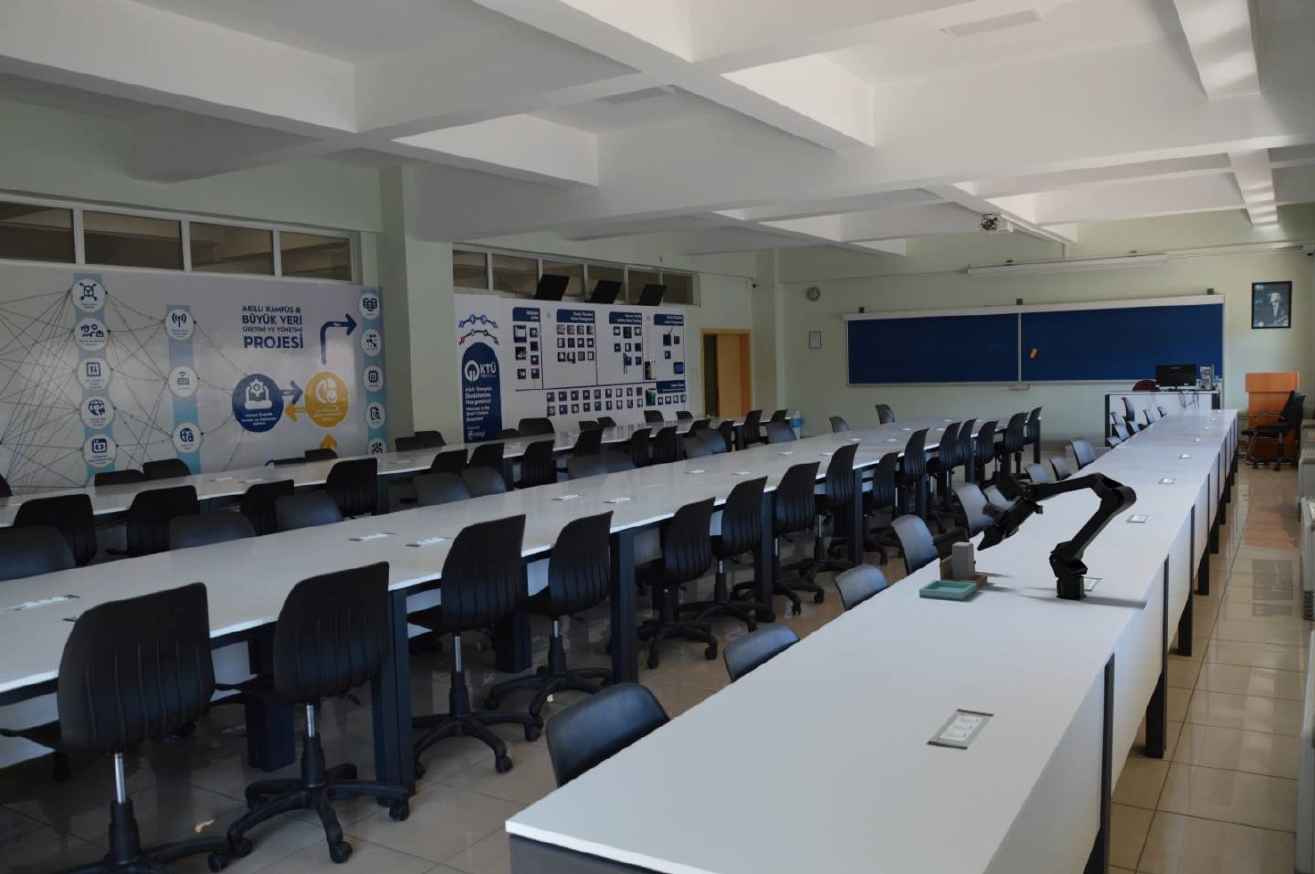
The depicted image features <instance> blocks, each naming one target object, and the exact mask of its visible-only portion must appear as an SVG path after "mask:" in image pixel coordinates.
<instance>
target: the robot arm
mask: <svg viewBox="0 0 1315 874" xmlns="http://www.w3.org/2000/svg"><path fill="white" fill-rule="evenodd" d="M994 488H995V490H996V491H997V492H998V493H999V495H1001V496H1002V498H1003V499H1004V500H1005V501H1006V502H1007V503H1010V502H1012V503H1013V504H1012V505H1011V506H1010V507H1008V508H1007V509H1004V508H1003V507H1002V506H999V505H997V504H995V503H993V502H990V501H989V502H986V503H985V504H984V506H983V507H982V511H981V514H982V515H984V516H988V517H989V518H991V519H994V520H993V522H991V523H988V524H986V525H985V526H983V528H982V532H983V537H982V539H981V541H980V542H979V543H978V546H977V547H976V551H978V552H981V551H984V550H986V549H989V548H992V547H995V546H997V545H999V544H1001V543H1002V542H1003V541H1005V540H1006V539H1007V540H1008V539H1009V538H1011V537H1012V536H1015V534H1017V533H1018V532H1019V531H1020V528H1019V527H1020V526H1021V525H1023V524H1024V523H1025V522H1026V520H1028V518H1030V517H1031V516H1032V515H1033V514H1034V513H1035V515H1043V514H1044V505H1041V504H1038V503H1039V502H1044V501H1048V500H1050V499H1052V498H1055V497H1057V496H1059V495H1061V494H1064V493H1069V492H1075V491H1079V490H1083V489H1091V490H1092V491H1093V492H1094V493H1095V495H1096V496H1097V497H1098V498H1099V499H1100V502H1099V505H1098V506H1099V507H1098V509H1097V510H1096V511H1095V513H1094V514H1093V515H1092V516H1091V517H1090V518H1089V519H1088V521H1087V522H1086V523H1085V524H1083V526H1081V528H1080V529H1079V531H1078V532H1077V533H1076V534H1075V535H1074V536H1073V537H1072V538H1071V539H1070V540H1066V541H1062V542H1058V543H1057V544H1056V545H1055V547H1054V548H1053V549H1052V550H1050V551H1049V553H1050V555H1049V557H1048V560H1049V566H1050V567H1051V569H1052V571H1053V574H1054V577H1055V578H1057V580H1056V594H1057V595H1055V598H1058V599H1065V600H1074V601H1079V600H1081V599H1083V598H1086V597H1087V595H1088V594H1086V593H1085V577H1084V576H1085V575H1087V573H1088V571H1089V567H1088V566H1087V565H1086V564H1085V563H1084V562H1083V560H1082V559H1083V557H1084V553H1085V551H1086V549H1087V548H1088V547H1089V546H1090V545H1091V544H1092V542H1093V541H1094V540H1095V539H1096V538H1097V537H1098V536H1099V534H1101V532H1103V530H1104V529H1106V527H1107V526H1108V524H1109V523H1110V522H1111V521H1112V520H1113V519H1114V518H1115V517H1117V516H1118V515H1121V513H1123V512H1126V511H1127V510H1128V509H1129V508H1131V507H1132V506H1133V505H1135V504H1136V502H1137V499H1138V497H1137V494H1136V491H1135V490H1134V488H1133V487H1131V486H1128V485H1124V484H1123V483H1122V482H1119V481H1117V480H1116V479H1115V480H1114V479H1112V478H1110V477H1108V476H1107V475H1105V474H1104V473H1101V472H1099V471H1098V472H1097V471H1096V472H1092V473H1088V474H1086V475H1081V476H1077V477H1073V478H1067V479H1064V480H1059V481H1058V480H1057V481H1055V480H1041V481H1036V482H1030V483H1028V484H1026V485H1023V484H1022V483H1021V482H1020V481H1019V480H1018V479H1017V477H1016V476H1015V475H1014V474H1013V473H1011V474H1007V476H1006V477H1004V478H1003V479H1001V480H1000V481H998V482H997V483H996V484H995V486H994Z"/></svg>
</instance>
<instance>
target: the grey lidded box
mask: <svg viewBox="0 0 1315 874" xmlns="http://www.w3.org/2000/svg"><path fill="white" fill-rule="evenodd" d="M974 549H975V547H974V543H973V542H970V543H968V542H957V543H955V544H953V546H952V563H953V580H965V581H975V574H976V573H975V572H976V570H975V571H974V561H975V551H974Z"/></svg>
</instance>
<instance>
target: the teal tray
mask: <svg viewBox="0 0 1315 874" xmlns="http://www.w3.org/2000/svg"><path fill="white" fill-rule="evenodd" d="M977 591H978V589H977V583H966V582H953V581H940V579H939V580H938V579H936V580H932V581H930V582H929V583H927V584H926V585H924V586H922V587H921V588H918V592H919V594H918V595H919V598H924V599H936V600H947V601H958V602H964V601H965V600H967V599H968V598H969V597H970V596H972V595H973V594H975V593H976V592H977Z"/></svg>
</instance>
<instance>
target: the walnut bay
mask: <svg viewBox="0 0 1315 874" xmlns="http://www.w3.org/2000/svg"><path fill="white" fill-rule="evenodd" d="M939 565H940V567H939V580H940V581H953V582H966V583H977V590H979V589H980V588H982V587H983V586H984V585H986V584H987V583H988V574H985V573H984V574H983V573H975V581H965V580H953V563H952V555H951V556H949V557H948V558H946V559H944V560H942V561H940V560H939Z"/></svg>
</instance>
